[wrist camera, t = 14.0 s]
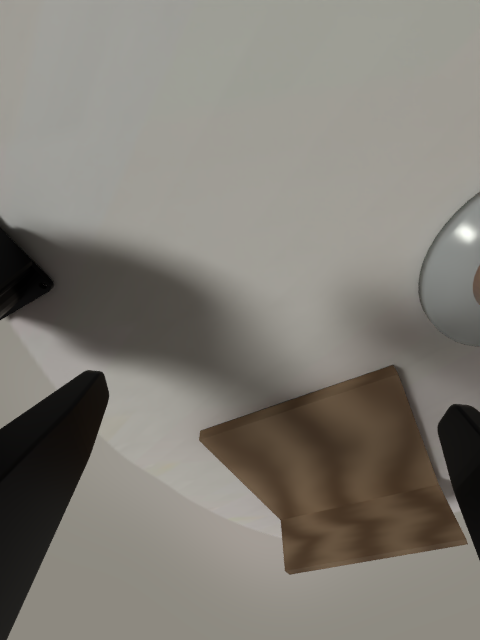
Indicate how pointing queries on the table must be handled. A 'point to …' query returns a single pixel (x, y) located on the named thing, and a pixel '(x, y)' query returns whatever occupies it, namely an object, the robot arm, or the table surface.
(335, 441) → the wooden bookend
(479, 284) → the terracotta pot
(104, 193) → the table surface
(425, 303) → the ceramic saucer
